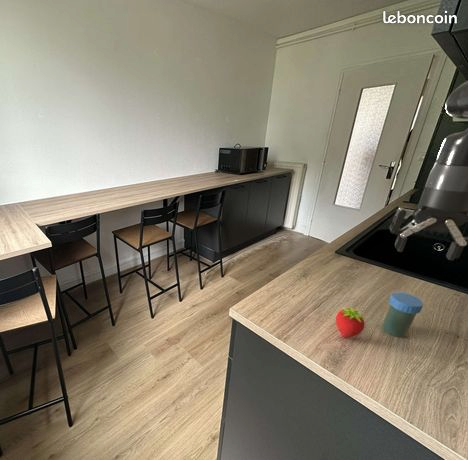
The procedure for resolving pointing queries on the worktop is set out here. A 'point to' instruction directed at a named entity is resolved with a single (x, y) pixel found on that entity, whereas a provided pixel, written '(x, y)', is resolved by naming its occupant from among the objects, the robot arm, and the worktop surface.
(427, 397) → the worktop surface
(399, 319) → the jar
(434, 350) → the worktop surface
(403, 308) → the jar lid
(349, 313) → the strawberry
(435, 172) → the robot arm
